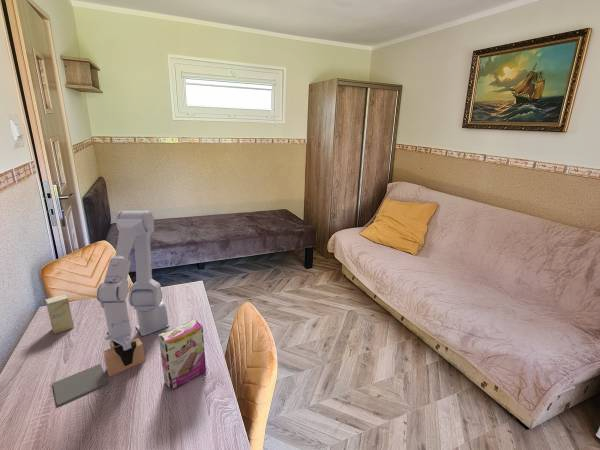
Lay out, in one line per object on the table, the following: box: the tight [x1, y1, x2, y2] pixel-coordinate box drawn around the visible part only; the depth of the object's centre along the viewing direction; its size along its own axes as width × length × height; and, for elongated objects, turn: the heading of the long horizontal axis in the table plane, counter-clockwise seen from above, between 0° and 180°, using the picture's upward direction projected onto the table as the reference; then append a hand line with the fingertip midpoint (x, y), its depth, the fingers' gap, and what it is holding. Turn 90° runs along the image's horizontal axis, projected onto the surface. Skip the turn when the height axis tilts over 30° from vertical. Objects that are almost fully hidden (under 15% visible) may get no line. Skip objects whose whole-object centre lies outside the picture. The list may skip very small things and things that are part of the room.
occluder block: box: [102, 337, 146, 377], centre depth 100 cm, size 10×4×6 cm, turn 131°
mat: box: [52, 363, 109, 407], centre depth 93 cm, size 12×10×1 cm
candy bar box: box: [158, 319, 207, 392], centre depth 94 cm, size 11×5×16 cm, turn 134°
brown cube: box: [108, 340, 115, 349], centre depth 106 cm, size 4×4×4 cm
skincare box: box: [45, 293, 75, 335], centre depth 116 cm, size 6×4×12 cm
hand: (124, 357), depth 100 cm, fingers open, 7 cm apart
